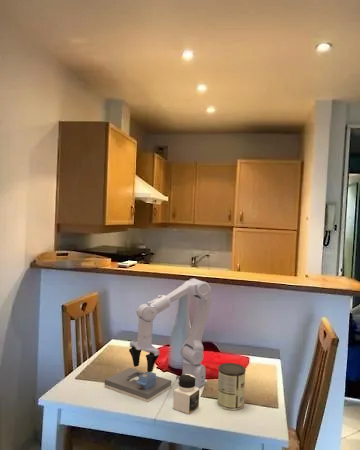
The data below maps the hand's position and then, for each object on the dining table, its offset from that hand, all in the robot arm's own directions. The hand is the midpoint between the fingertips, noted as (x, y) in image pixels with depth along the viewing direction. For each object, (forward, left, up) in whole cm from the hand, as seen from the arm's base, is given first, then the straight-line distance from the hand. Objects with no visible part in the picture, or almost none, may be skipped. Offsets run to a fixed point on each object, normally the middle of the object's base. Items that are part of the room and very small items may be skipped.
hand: (143, 368), depth 164 cm
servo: (-2, -1, -7) cm, 7 cm away
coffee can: (-33, -13, -10) cm, 37 cm away
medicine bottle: (-21, 0, -10) cm, 23 cm away
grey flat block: (+4, -3, -10) cm, 11 cm away
